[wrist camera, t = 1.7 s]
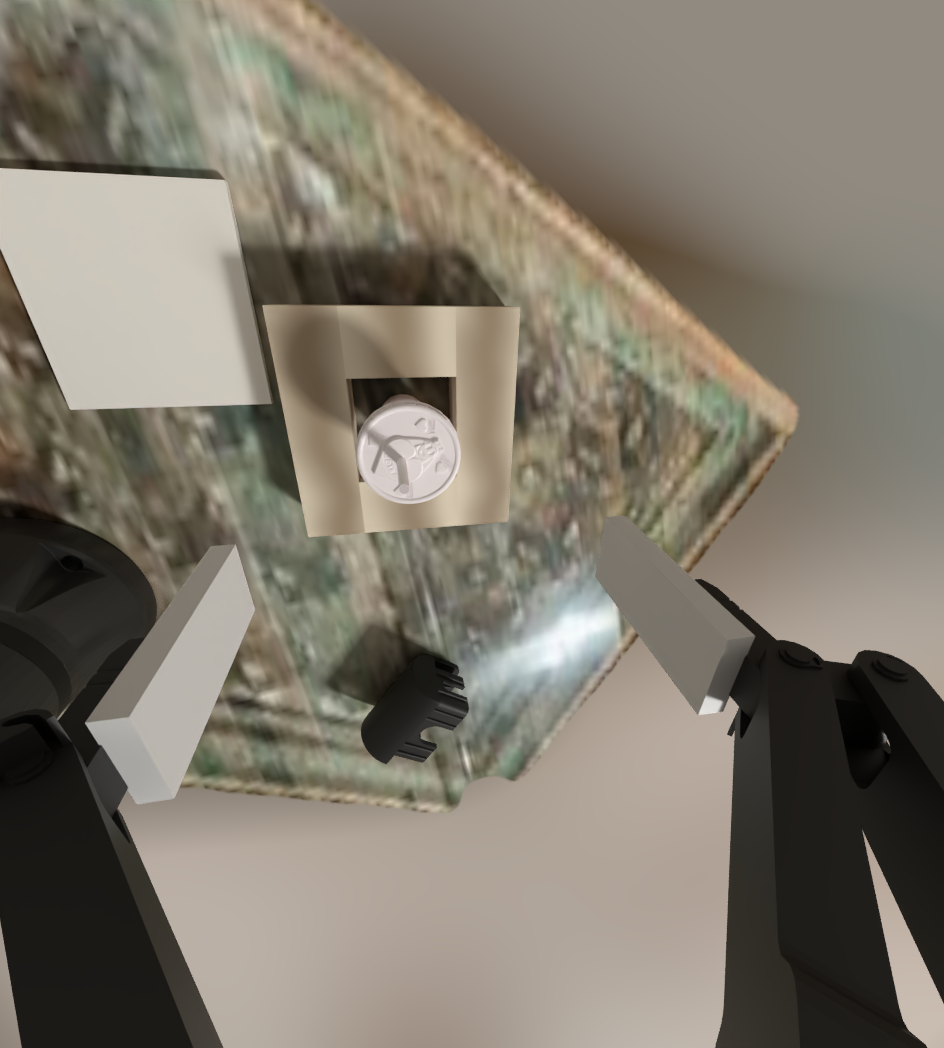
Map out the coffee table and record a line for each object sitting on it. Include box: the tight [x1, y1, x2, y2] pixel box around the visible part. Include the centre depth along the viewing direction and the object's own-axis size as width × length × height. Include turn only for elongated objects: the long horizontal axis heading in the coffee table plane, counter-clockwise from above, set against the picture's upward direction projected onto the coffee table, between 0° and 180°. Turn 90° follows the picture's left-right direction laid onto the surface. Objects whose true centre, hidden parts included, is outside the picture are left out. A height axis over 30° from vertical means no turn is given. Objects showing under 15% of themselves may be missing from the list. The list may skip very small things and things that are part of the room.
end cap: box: [361, 654, 469, 764], centre depth 45 cm, size 10×7×7 cm
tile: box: [0, 168, 274, 410], centre depth 27 cm, size 13×13×1 cm
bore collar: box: [262, 304, 520, 537], centre depth 32 cm, size 16×16×4 cm
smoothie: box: [356, 394, 461, 504], centre depth 28 cm, size 6×6×14 cm
